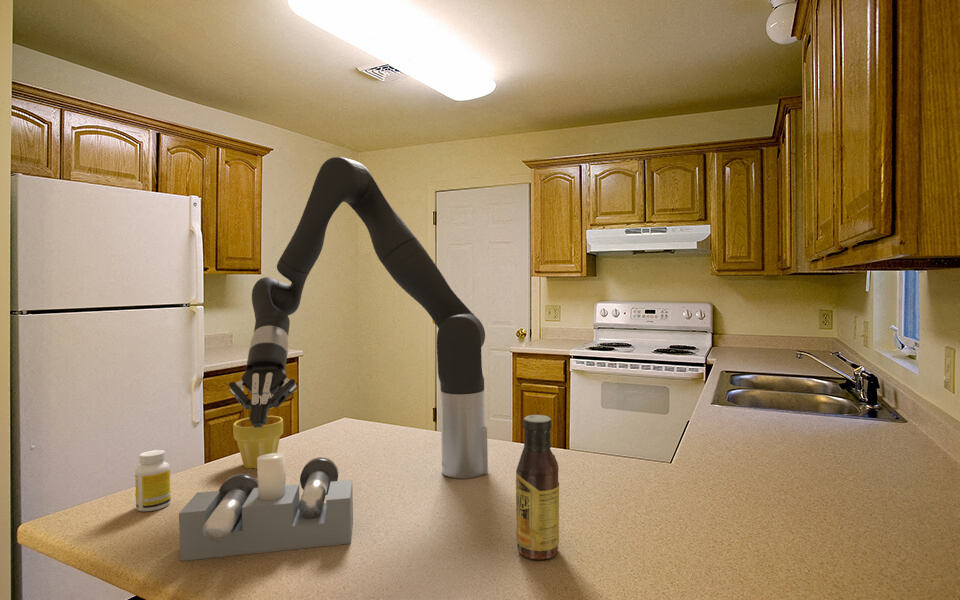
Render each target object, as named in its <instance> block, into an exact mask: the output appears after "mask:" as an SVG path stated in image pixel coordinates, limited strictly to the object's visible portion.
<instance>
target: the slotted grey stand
mask: <svg viewBox="0 0 960 600" xmlns="http://www.w3.org/2000/svg"><path fill="white" fill-rule="evenodd" d="M285 486H286V494H285V495H284V496H283V497H281V498H278V499H274V500H260V499H259V498H258V488H254V489H253V490H252V492H251V493H250V495H249V497H248V498H247V500H246V502H245V503H244V505H243V506H242V513H241V515H240V517H239V518H238V520H237V522H236V523H235V525H234V527H233V528H232V530H231V532H230V533H229V535H228V536H227V538H225V539H224V540H222V541H220V542H211V541H209V540H207V539H206V538H205V536H204V534H203V526H204V524H205V522H206V521H207V520H208V518H209V517H210V516H211V514H212V513H213V512H214V510H215V509H216V507H217V506H218V505H219V503H220V502H221V491H219V490H213V491H211V490H210V491H200V492H196V493H195V494H194V495H193V496H192V497H191V498H190V500H189V501H188V502H187V503H186V504H185V505H184V506H183V507H182V509H181V510H180V511H179V512H178V525H179V558H180V559H179V560H180V562H185V561H193V560H194V561H195V560H203V559H212V558H213V559H214V558H221V557H223V558H224V557H234V556H241V555H242V556H243V555H251V554H252V555H253V554H262V553H271V552H282V551H291V550H300V549H301V550H302V549H309V548H310V549H311V548H319V547H321V548H322V547H331V546H339V545H349V544H352V538H353V526H354V502H353V499H354V498H353V497H354V496H353V495H354V494H353V480H352V479H347V480H338V481H333V482H330V487H329V491H328V494H327V495H326V498H325V501H326V502H324V504H323V508H322V510H321V512H320V513H319V514H318V515H316V516H314V517H306V516H304V515H302V514H301V512H300V511H299V502H300V483H299V484H285Z"/></svg>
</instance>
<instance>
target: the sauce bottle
mask: <svg viewBox="0 0 960 600" xmlns="http://www.w3.org/2000/svg"><path fill="white" fill-rule="evenodd" d="M552 424H553V422H552V418H551V417H549V416H548V415H543V414H532V415H531V414H529V415H526V416H525V417H524V418H523V423H522V425H523V428H524V429H523V430H524V442H523V443H524V445H523V449H522V452H521V455H520V458H519V462H518V465H517V467H516V469H515V470H516V471H515V486H516V487H515V490H516V491H515V492H516V493H515V504H516V505H515V507H516V509H515V512H516V515H515V517H516V518H515V521H516V523H515V524H516V525H515V526H516V527H515V528H516V532H515V533H516V534H515V535H516V542H517V550H518V552H519V553H520V555H523V556H524V557H525V558H527V559H529V560H536V561H541V560H549V559H552V558H554V557H556V556H557V554H558V551H559V544H560V482H559V463H558V461H557V459H556V455H554V454H553V452H552V450H551V447H552V443H551V429H552V427H553V426H552Z"/></svg>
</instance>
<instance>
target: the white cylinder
mask: <svg viewBox="0 0 960 600" xmlns="http://www.w3.org/2000/svg"><path fill="white" fill-rule="evenodd" d="M256 470H257V480H258V498H259V499H260V500H274V499H278V498H281V497H283V496H284V495H285V494H286V486H285V485H286V455H285V454H284V453H281V452H277V453H270V454H265V455H262V456H259V457H258V458H257V468H256Z"/></svg>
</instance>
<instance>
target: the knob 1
mask: <svg viewBox="0 0 960 600" xmlns="http://www.w3.org/2000/svg"><path fill="white" fill-rule="evenodd" d="M254 488H258V478H256V477H255V476H254V475H251V474H250V473H243V472H241V473H235V474H233V475H231V476H229V477H228V478H226V480H225V481H224V482H223V483H222V484H221V485H220V487H219V489H218V491H221V502H220V503H219V505H218V506H217V507H216V509H215V510H214V512H213V513H212V514H211V516H210V517H209V518H208V520H207V521H206V522H205V524H204V526H203V534H204V536H205V538H206V539H207V540H209V541H211V542H220V541H222V540H224V539H225V538H227V536H228V535H229V533H230V532H231V530H232V528H233V527H234V525H235V523H236V522H237V520H238V518H239V517H240V515H241V513H242V506H243V505H244V503H245V502H246V500H247V498H248V497H249V495H250V493H251V492H252V490H253V489H254Z"/></svg>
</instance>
